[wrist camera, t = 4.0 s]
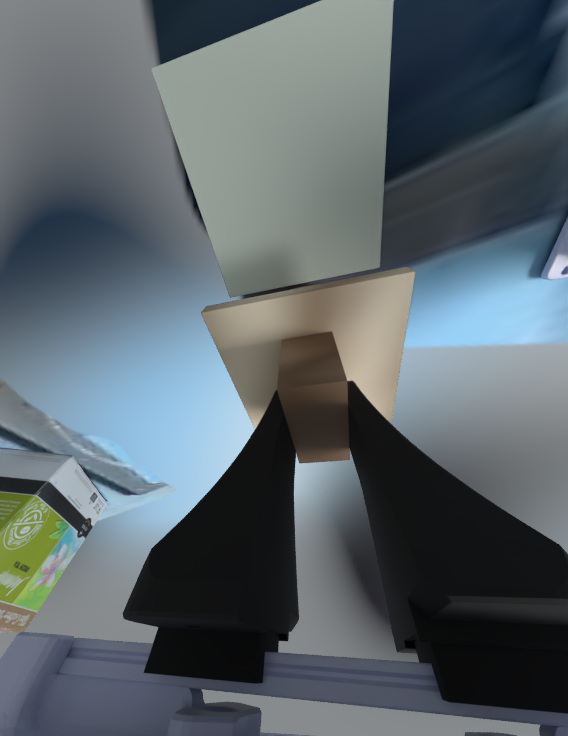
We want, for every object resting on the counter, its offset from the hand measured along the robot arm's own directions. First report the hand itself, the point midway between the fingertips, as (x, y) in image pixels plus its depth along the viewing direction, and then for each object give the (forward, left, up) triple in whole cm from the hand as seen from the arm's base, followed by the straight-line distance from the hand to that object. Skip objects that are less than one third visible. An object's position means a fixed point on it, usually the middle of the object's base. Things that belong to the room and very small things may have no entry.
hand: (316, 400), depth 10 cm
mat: (0, -9, -8) cm, 12 cm away
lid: (0, 0, -2) cm, 3 cm away
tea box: (+41, +18, -8) cm, 46 cm away
